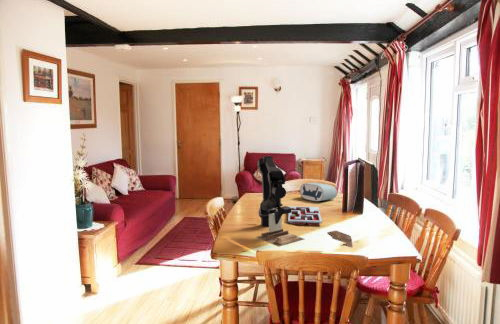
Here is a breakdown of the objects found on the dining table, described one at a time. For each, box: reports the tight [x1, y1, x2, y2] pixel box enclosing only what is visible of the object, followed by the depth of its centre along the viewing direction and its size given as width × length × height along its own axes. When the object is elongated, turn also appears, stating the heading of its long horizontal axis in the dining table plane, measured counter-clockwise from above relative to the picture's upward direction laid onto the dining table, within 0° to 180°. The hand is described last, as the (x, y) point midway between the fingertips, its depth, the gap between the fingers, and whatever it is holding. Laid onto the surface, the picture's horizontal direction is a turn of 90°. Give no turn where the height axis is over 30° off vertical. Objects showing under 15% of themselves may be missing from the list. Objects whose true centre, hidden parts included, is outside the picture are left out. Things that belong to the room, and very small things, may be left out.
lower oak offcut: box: [275, 236, 300, 246], centre depth 180 cm, size 5×12×1 cm, turn 127°
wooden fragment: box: [327, 229, 353, 248], centre depth 186 cm, size 26×11×1 cm, turn 1°
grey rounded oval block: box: [299, 182, 338, 202], centre depth 278 cm, size 22×19×13 cm
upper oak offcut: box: [277, 233, 297, 242], centre depth 180 cm, size 4×10×1 cm, turn 127°
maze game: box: [287, 205, 323, 226], centre depth 227 cm, size 35×20×3 cm, turn 173°
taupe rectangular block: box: [268, 213, 283, 232], centre depth 187 cm, size 2×7×9 cm, turn 127°
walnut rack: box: [256, 228, 305, 248], centre depth 184 cm, size 18×18×3 cm
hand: (275, 223), depth 187 cm, fingers closed on taupe rectangular block, 2 cm apart
